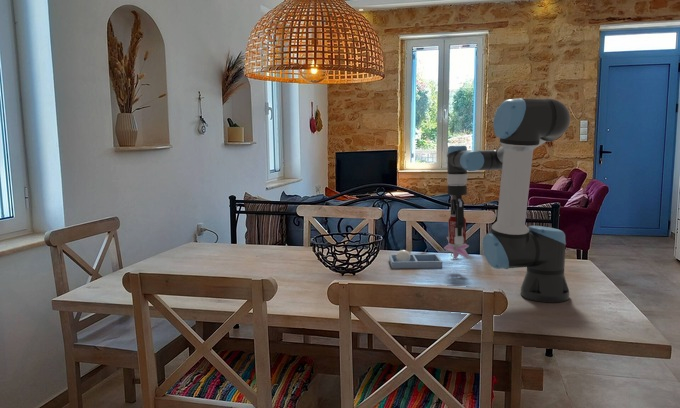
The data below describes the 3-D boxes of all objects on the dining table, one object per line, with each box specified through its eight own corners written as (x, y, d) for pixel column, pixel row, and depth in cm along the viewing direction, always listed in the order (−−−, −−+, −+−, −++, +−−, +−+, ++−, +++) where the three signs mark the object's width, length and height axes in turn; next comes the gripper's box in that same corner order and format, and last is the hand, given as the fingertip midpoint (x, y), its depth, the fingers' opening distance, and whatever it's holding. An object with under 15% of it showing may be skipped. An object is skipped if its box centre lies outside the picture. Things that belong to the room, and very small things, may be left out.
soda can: (466, 246, 205) (466, 216, 204) (448, 246, 207) (448, 216, 206) (465, 243, 212) (465, 214, 211) (448, 243, 213) (448, 214, 212)
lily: (439, 261, 230) (446, 244, 225) (439, 245, 240) (446, 229, 235) (465, 269, 230) (473, 252, 225) (464, 253, 240) (472, 237, 235)
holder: (442, 268, 213) (442, 261, 213) (392, 269, 213) (391, 262, 213) (436, 260, 226) (436, 254, 226) (389, 261, 227) (389, 254, 226)
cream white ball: (411, 265, 217) (411, 251, 216) (396, 265, 217) (396, 251, 216) (409, 262, 223) (409, 248, 222) (395, 262, 223) (395, 248, 222)
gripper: (472, 186, 197) (472, 246, 199) (461, 183, 217) (461, 238, 219) (452, 186, 197) (452, 247, 200) (443, 183, 217) (443, 238, 219)
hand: (457, 242), depth 209 cm, fingers closed on soda can, 7 cm apart
